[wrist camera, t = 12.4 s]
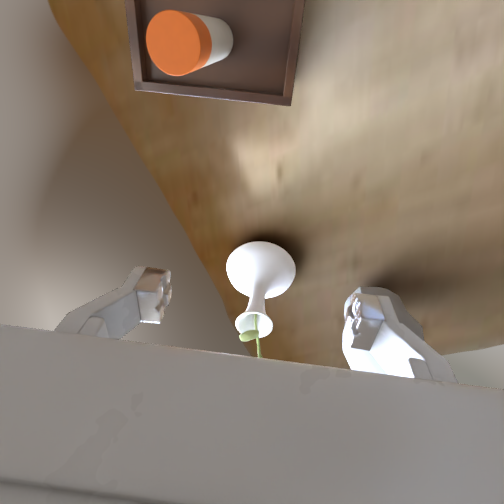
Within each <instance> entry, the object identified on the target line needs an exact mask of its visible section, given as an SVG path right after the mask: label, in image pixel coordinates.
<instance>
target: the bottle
mask: <svg viewBox="0 0 504 504" xmlns="http://www.w3.org/2000/svg"><path fill="white" fill-rule="evenodd" d="M354 293H360V294H369V295H380V296H388V297H389V298H390V300H391V303H392V305H393V308H394V310H395V313H396V316H397V318H398V321H399V323H402V324H404V325H405V326H406V327H407V328H409V329H410V330H411V331H412V332H413V333H415V334H416V335H417V336H418V337H419V338H421V339H422V340H423V341H424V336H423V329H422V326H421V325H420V324H419V323H418V322H417V321H416V320H415V319H414V318H413V317H412V316H411V315H410V314H409V313H408V312H407V310H406V308H405V306H404V304H403V302H402V300H401V298H400V297H399V296H398V295H397V294H395V293H393V292H391V291H389V290H388V289H385V288H381V287H359V288H358V289H357V290H356V291H355V292H354ZM350 298H351V296H350V297H349V298H348V299H347V301H346V303H345V311H344V316H345V315H346V310H347V307H348V306H350V305H351V302H350ZM348 333H349V330H348V329H347V328H346V324H345V327H344V331H343V340H342V343H343V352H344V354H345V356H346V359H347V361H348V363H349V365H350V367H351V369H352V370H357V371H365V372H373V373H381V374H387V373H386V371H385V370H384V369H383V368H382V366H381V365H380V364H379V363H378V361H377V360H376V359H375V358H374V357H373V355H372V354H371V353H370V351H367V350H361V349H354V348H350V345H349V340H348Z"/></svg>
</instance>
